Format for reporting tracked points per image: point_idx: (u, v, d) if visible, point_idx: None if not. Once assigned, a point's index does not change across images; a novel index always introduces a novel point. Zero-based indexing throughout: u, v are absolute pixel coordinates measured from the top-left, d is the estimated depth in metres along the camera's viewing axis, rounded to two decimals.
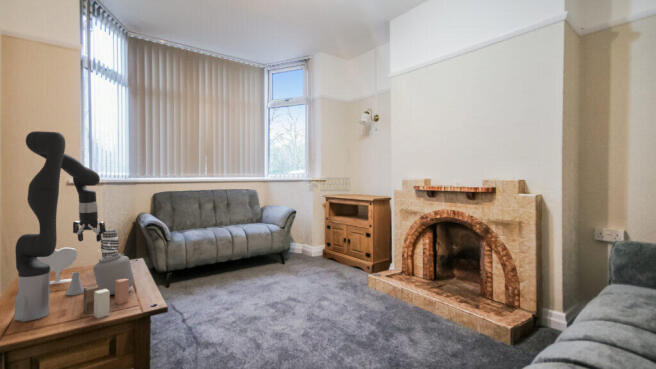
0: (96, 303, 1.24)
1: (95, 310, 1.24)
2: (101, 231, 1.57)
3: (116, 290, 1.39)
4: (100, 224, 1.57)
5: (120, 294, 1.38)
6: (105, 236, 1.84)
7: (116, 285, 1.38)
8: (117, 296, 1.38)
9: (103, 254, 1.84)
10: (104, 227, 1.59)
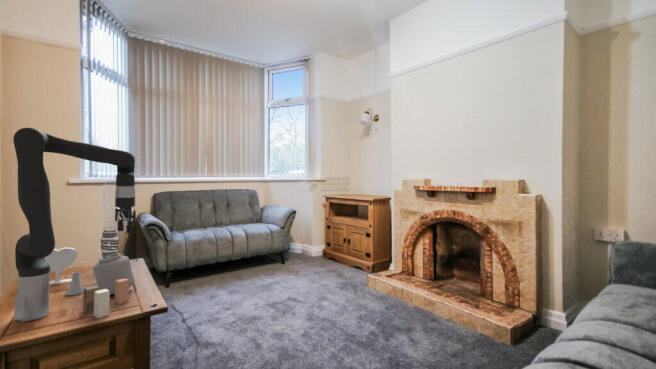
0: (96, 303, 1.24)
1: (95, 310, 1.24)
2: (129, 221, 1.33)
3: (116, 290, 1.39)
4: (128, 212, 1.33)
5: (120, 294, 1.38)
6: (105, 236, 1.84)
7: (116, 285, 1.39)
8: (117, 296, 1.38)
9: (103, 254, 1.84)
10: (134, 217, 1.34)
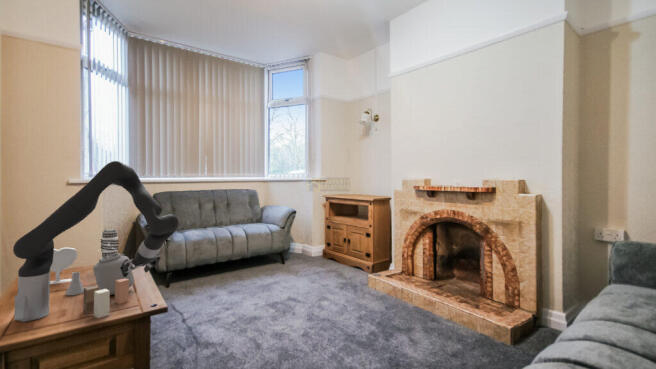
0: (96, 303, 1.24)
1: (95, 310, 1.24)
2: None
3: (116, 290, 1.39)
4: None
5: (120, 294, 1.38)
6: (105, 236, 1.84)
7: (116, 285, 1.39)
8: (117, 296, 1.38)
9: (103, 254, 1.84)
10: (123, 268, 1.25)
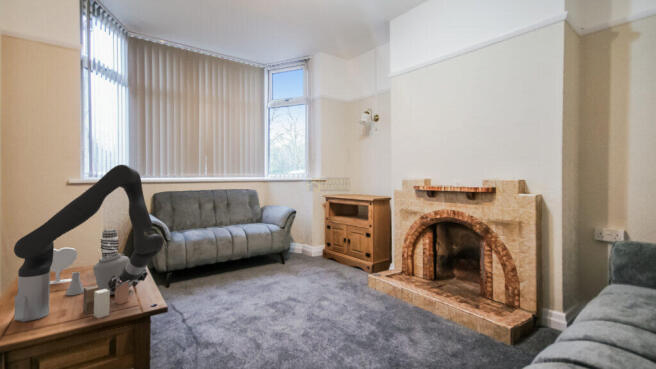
0: (96, 303, 1.24)
1: (95, 310, 1.24)
2: None
3: (116, 290, 1.39)
4: None
5: (120, 294, 1.38)
6: (105, 236, 1.84)
7: None
8: (117, 296, 1.38)
9: (103, 254, 1.85)
10: (111, 284, 1.30)
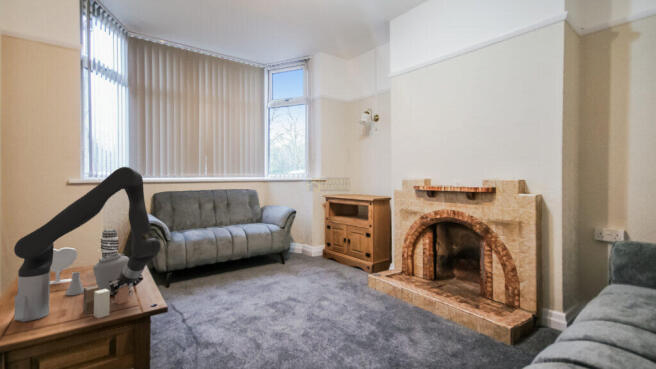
0: (96, 303, 1.24)
1: (95, 310, 1.24)
2: None
3: None
4: None
5: (120, 294, 1.38)
6: (105, 236, 1.84)
7: None
8: (117, 296, 1.38)
9: (103, 254, 1.85)
10: (110, 288, 1.33)
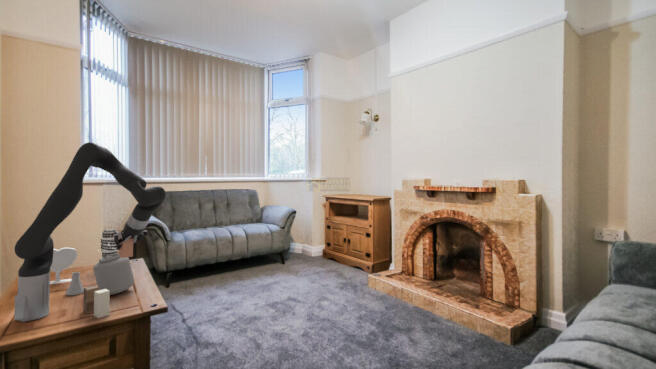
0: (96, 303, 1.24)
1: (95, 310, 1.24)
2: None
3: None
4: None
5: (124, 248, 1.34)
6: (105, 236, 1.84)
7: None
8: (122, 250, 1.34)
9: (103, 254, 1.84)
10: (114, 240, 1.30)
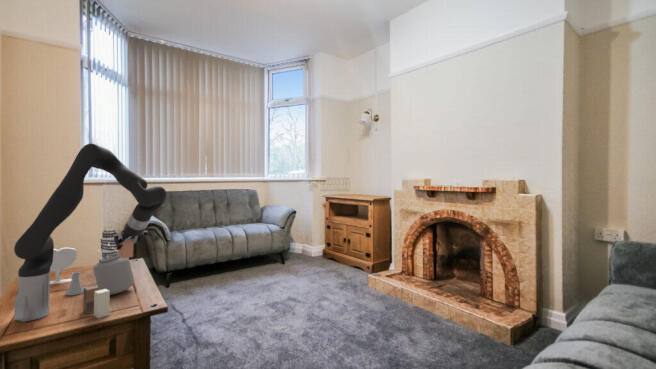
0: (96, 303, 1.24)
1: (95, 310, 1.24)
2: None
3: None
4: None
5: (125, 248, 1.33)
6: (105, 236, 1.84)
7: None
8: (122, 251, 1.33)
9: (103, 254, 1.84)
10: (114, 240, 1.28)
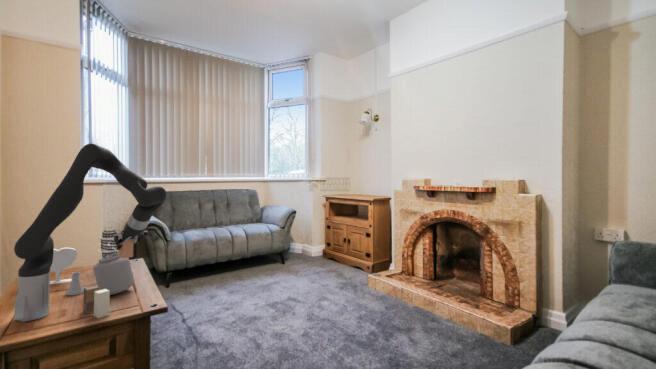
0: (96, 303, 1.24)
1: (95, 310, 1.24)
2: None
3: None
4: None
5: (125, 248, 1.33)
6: (105, 236, 1.84)
7: None
8: (122, 251, 1.33)
9: (103, 254, 1.84)
10: (114, 240, 1.28)
